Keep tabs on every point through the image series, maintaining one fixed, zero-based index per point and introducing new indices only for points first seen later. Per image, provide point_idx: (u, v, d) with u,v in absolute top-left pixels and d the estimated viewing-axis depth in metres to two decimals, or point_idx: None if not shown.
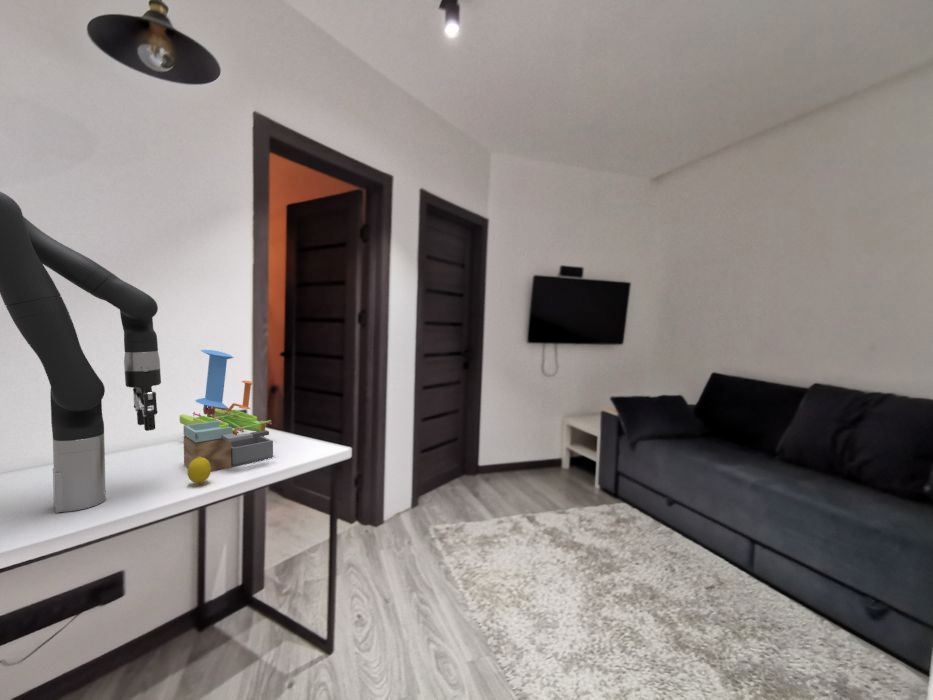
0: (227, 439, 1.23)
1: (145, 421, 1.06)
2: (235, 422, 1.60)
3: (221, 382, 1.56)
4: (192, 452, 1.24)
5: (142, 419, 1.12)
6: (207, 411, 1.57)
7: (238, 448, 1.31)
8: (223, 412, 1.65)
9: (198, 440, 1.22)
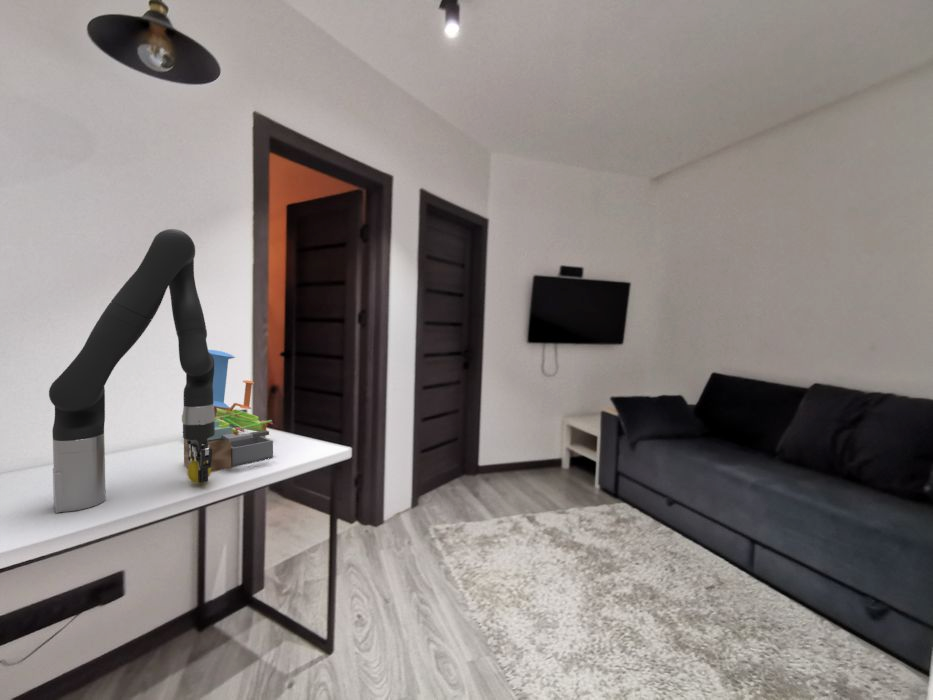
0: (227, 439, 1.23)
1: (199, 474, 1.12)
2: (237, 422, 1.61)
3: (223, 382, 1.56)
4: None
5: None
6: None
7: (238, 448, 1.31)
8: (225, 412, 1.65)
9: None
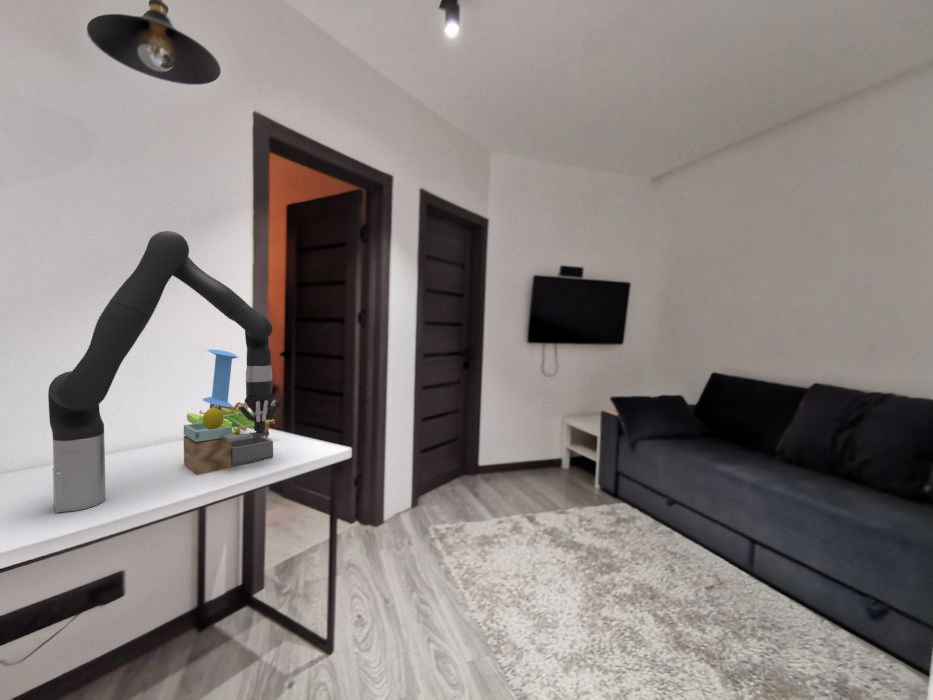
0: (227, 439, 1.23)
1: None
2: (240, 421, 1.62)
3: (226, 381, 1.58)
4: (192, 452, 1.24)
5: None
6: None
7: (238, 448, 1.31)
8: (230, 411, 1.67)
9: (198, 439, 1.22)
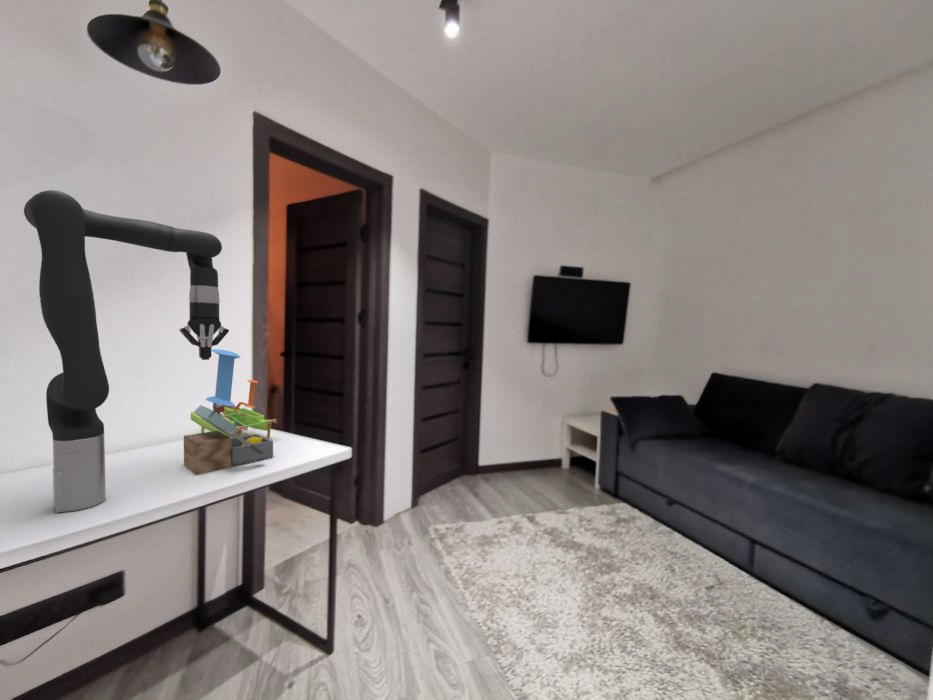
0: (231, 432, 1.24)
1: None
2: (243, 420, 1.63)
3: (229, 381, 1.59)
4: (192, 452, 1.24)
5: None
6: (216, 409, 1.61)
7: (238, 448, 1.31)
8: (233, 410, 1.69)
9: (209, 418, 1.24)
